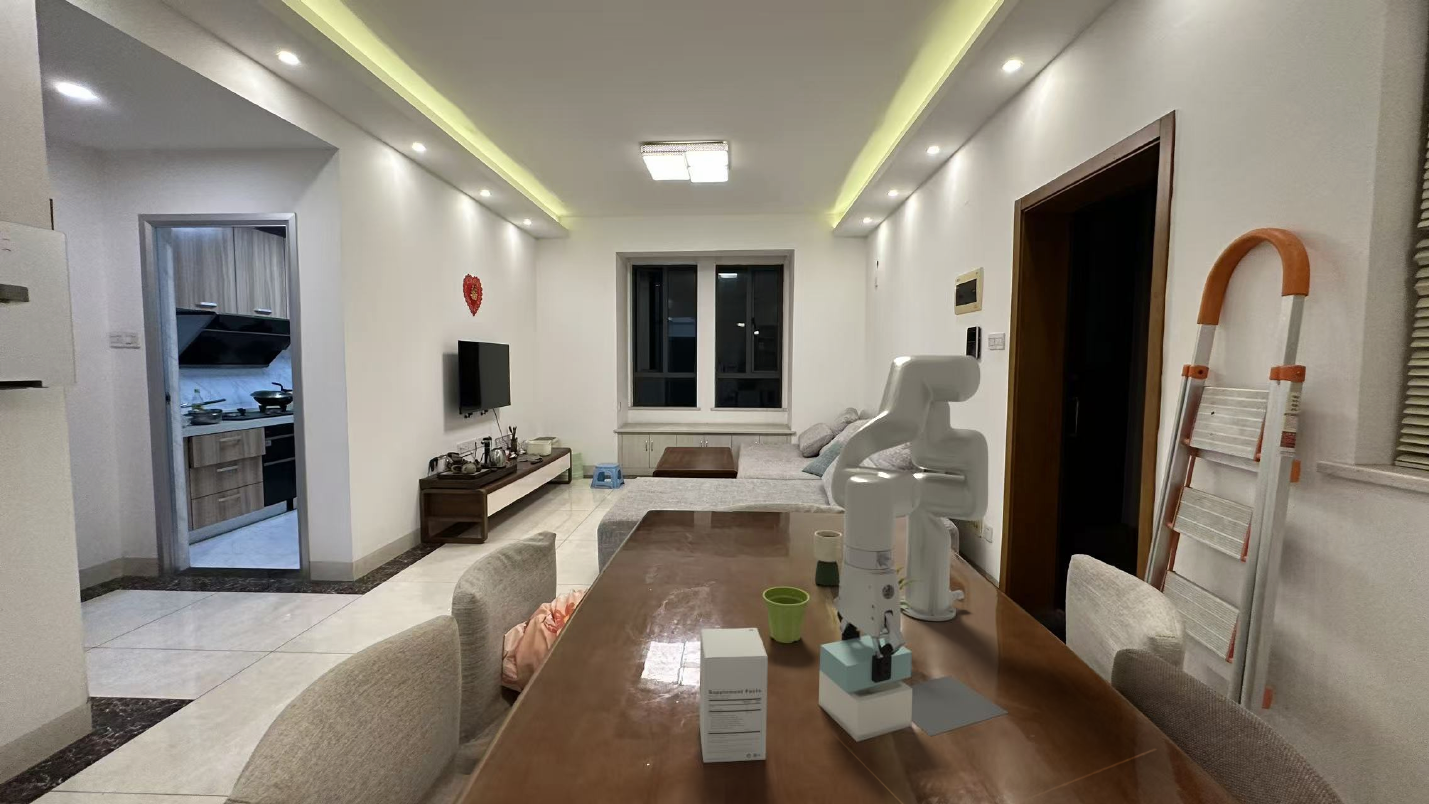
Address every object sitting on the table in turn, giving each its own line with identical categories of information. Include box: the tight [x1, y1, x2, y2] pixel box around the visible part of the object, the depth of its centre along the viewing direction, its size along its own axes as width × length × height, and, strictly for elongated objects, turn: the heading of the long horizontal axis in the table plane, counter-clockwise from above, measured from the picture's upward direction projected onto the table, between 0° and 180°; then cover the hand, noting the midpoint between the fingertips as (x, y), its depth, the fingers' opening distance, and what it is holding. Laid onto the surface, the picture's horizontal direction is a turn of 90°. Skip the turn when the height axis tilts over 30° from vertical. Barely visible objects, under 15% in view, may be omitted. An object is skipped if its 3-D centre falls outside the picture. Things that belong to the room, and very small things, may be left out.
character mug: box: [813, 530, 843, 587], centre depth 145 cm, size 11×7×13 cm, turn 20°
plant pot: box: [762, 586, 810, 644], centre depth 115 cm, size 9×9×9 cm
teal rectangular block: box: [819, 633, 913, 693], centre depth 88 cm, size 12×7×4 cm, turn 113°
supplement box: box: [699, 627, 769, 764], centre depth 82 cm, size 9×9×15 cm
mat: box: [908, 675, 1009, 737], centre depth 92 cm, size 16×12×1 cm
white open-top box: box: [818, 669, 912, 742], centre depth 89 cm, size 10×10×6 cm
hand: (865, 667), depth 88 cm, fingers closed on teal rectangular block, 7 cm apart
